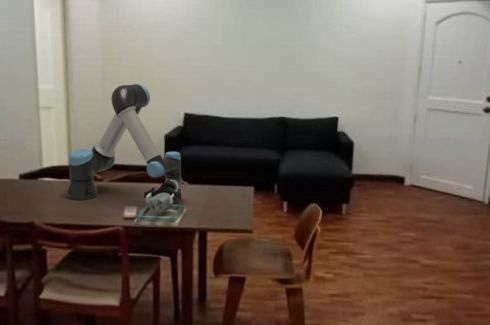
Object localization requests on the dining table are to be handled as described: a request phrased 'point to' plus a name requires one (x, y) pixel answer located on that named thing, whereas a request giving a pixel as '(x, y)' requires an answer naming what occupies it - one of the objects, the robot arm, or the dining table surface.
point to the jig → (161, 216)
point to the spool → (160, 203)
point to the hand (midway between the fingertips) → (158, 200)
